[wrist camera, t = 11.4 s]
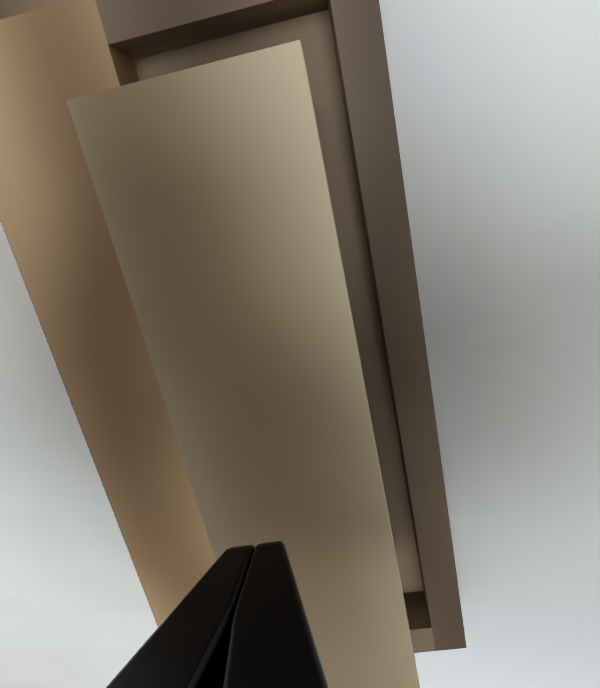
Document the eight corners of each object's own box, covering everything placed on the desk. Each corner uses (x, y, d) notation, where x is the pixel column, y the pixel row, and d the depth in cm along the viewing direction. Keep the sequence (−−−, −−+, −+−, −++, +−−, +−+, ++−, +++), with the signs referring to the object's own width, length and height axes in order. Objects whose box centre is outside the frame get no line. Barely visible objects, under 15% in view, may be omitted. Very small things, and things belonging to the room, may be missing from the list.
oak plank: (313, 104, 12) (300, 39, 7) (394, 546, 17) (428, 737, 11) (183, 135, 13) (66, 100, 7) (294, 559, 17) (277, 749, 11)
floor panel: (353, -81, 12) (359, -145, 10) (451, 607, 19) (469, 669, 16) (-14, 23, 13) (-90, -12, 11) (202, 634, 20) (185, 696, 17)
